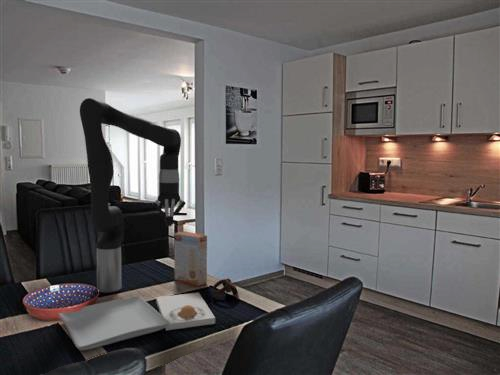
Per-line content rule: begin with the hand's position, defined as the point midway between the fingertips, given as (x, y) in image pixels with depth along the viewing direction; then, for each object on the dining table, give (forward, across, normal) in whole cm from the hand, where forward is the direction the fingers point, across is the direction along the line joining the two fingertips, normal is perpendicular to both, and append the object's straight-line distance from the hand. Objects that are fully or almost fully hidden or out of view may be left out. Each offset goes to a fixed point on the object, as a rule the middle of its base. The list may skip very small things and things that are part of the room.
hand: (169, 225), depth 154 cm
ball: (+24, -2, +27) cm, 36 cm away
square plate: (+28, +21, +24) cm, 43 cm away
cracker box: (+27, -11, -11) cm, 31 cm away
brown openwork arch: (+27, -20, +11) cm, 36 cm away
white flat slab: (+27, -2, +20) cm, 34 cm away
